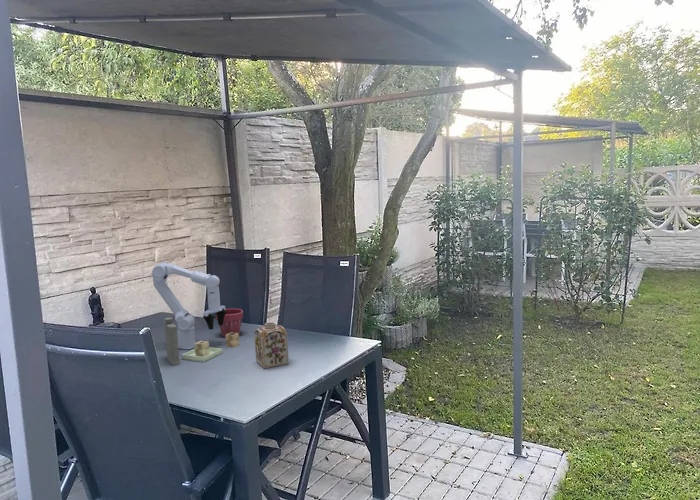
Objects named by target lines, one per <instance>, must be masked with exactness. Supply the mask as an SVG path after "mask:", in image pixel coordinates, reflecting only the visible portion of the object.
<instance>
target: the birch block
mask: <svg viewBox="0 0 700 500" xmlns="http://www.w3.org/2000/svg"><path fill="white" fill-rule="evenodd" d="M209 347H210V342H209V341H207V340H199V341H197V342H196V343H195V347H194V349H195V354H196V356H200V357H204V356H206V355H209V354H210V351H209Z"/></svg>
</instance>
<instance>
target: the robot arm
mask: <svg viewBox="0 0 700 500" xmlns="http://www.w3.org/2000/svg"><path fill="white" fill-rule="evenodd" d="M170 275H178V276H182V277H185V278H189V279H190V280H191V281H192V282H193V283H195V284H199V285H201V286H205V287H206V289H207V305H208V306H207V307H208V309H207V310H205V311H204V312H203V313H202V314H203V315H202V318H203V319H204V321H205V322H206V324H207V328H208V330H213V329H214V322H215V321H214V319H215V318H216V315H217V318H218V320H217V324H218V326H219V325H223V321H224V317H225V314H226V310H225V309H226V306H225V305H221V297H220V295H221V294H220V288H219V287H220V286H219V285H220V282H221V281H220V278H219V277H218V276H217V275H215V274H213V275H211V274H210V273H208V274H207V273H205V272H202V270H195V271H194V270H193V271H191V270H189V269H186V268H183V267H181V266H179V265H176V264H174V263H168V262H167V261H166V262H165V261H163V262H161V263H159V264H156V265H155V266H154V267H153V268H152V271H151V276H152V281H153V286H154V287H153V288H155V290H156V291H157V292H158V294H159V295H160V297H161V298H162V299H163V301H164V302H165V304H166V305H167V307H168V308H169V309H170V311H171V312H172V313H173V315H174V317H175V318H174V320H175V321H176V324H177V325H176V326H177V336H178V349H182V350H184V349H185V350H192V349H195V343H197V342H196V339H197V338H196V332H195V331H196V330H195V329H196V328H195V326H194V325H195V323H196V317H195V316H194V315H193V314H192V313H191V312H189V311H188V309H186V308H184V306H183V305H182V304H181V303H180V301H179V300H178V298H177V297H176V296H175V295H176V294H174V293H173V291H172V290H171V288H170V287H169V285H168V284H167V280H168V277H169V276H170ZM213 314H215V315H213Z"/></svg>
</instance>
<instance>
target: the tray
mask: <svg viewBox="0 0 700 500" xmlns="http://www.w3.org/2000/svg"><path fill="white" fill-rule="evenodd" d="M209 351H210V354H209V355H206V356H204V357H200V356H196V354H195V348H192V349H190V350H189V351H187V352H184V353H182V354H181V360H184V361H193V362H201V363H205V362H208V361H210V360H212V359H214V358H216V357H218V356H220V355H222V354H223V353H224V351H223V348H219V347H211V346H209Z"/></svg>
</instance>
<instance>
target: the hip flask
mask: <svg viewBox="0 0 700 500" xmlns="http://www.w3.org/2000/svg"><path fill="white" fill-rule="evenodd" d="M163 319H164V321H163V323H164V324H163V325H164V333H165V334H164V335H165V344H166V359H167V361H168V363H169V364H170V365H172V366H179V365H180V351H179V349H180V348H178V336H177V329H178V325H176V324H175V323H173V319H174V318H173V317H165V318H163Z"/></svg>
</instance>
